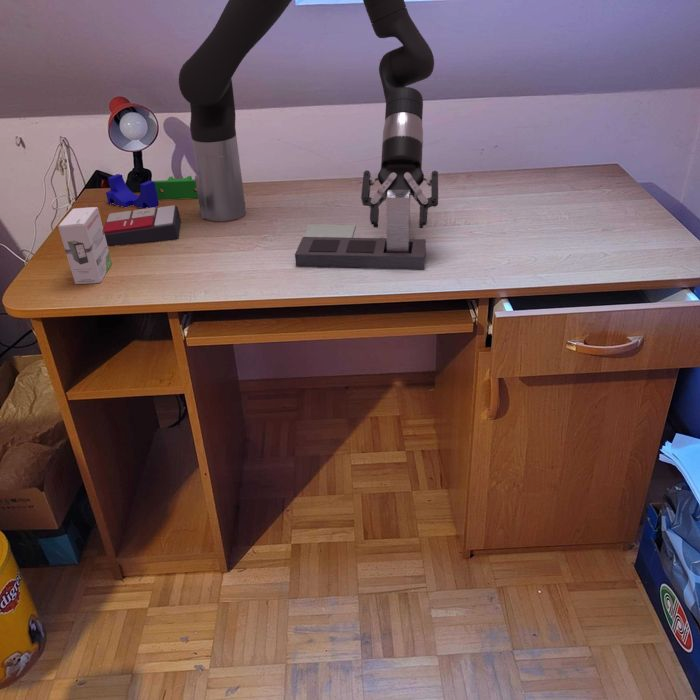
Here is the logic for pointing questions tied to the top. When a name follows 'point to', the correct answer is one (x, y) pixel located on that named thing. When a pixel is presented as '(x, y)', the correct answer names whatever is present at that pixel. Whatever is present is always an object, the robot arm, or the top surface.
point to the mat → (330, 231)
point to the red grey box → (142, 226)
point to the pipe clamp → (176, 188)
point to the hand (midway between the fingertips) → (398, 226)
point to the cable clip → (131, 193)
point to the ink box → (85, 245)
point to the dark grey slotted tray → (357, 253)
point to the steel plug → (398, 221)
